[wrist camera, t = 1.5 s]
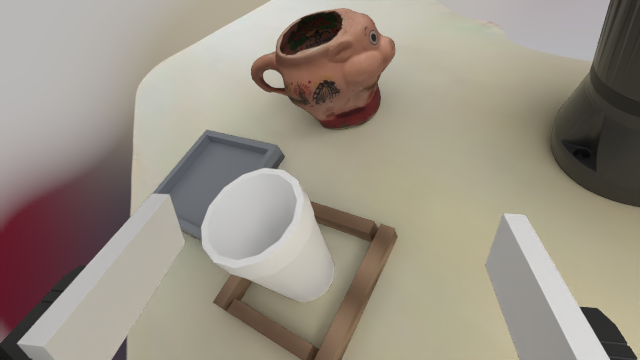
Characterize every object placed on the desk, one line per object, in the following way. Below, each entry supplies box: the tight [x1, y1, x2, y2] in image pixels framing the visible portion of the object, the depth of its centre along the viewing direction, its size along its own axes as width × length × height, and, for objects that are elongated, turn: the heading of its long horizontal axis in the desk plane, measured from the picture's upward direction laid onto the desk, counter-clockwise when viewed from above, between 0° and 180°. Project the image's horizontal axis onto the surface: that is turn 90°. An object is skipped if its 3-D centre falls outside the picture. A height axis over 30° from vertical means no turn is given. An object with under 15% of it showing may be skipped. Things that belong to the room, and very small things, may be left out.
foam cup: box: [201, 168, 335, 303], centre depth 33 cm, size 10×9×13 cm
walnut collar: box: [213, 201, 397, 360], centre depth 37 cm, size 15×15×2 cm
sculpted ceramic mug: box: [251, 8, 395, 129], centre depth 47 cm, size 20×12×14 cm, turn 90°
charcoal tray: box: [153, 130, 285, 241], centre depth 51 cm, size 16×16×2 cm
